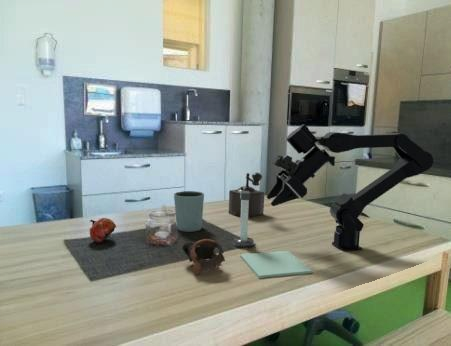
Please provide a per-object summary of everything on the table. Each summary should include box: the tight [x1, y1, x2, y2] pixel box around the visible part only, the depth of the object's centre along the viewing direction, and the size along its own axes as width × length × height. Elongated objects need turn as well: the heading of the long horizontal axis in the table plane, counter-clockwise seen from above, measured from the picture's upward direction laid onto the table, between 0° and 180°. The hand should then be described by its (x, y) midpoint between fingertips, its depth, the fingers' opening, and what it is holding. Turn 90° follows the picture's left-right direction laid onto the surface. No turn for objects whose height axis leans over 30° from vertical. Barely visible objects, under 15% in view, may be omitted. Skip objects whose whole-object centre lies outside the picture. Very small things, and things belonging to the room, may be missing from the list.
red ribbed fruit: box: [89, 217, 117, 244], centre depth 106 cm, size 7×7×10 cm
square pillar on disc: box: [232, 191, 255, 249], centre depth 106 cm, size 6×6×16 cm
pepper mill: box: [228, 172, 265, 219], centre depth 141 cm, size 16×11×18 cm
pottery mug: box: [181, 238, 226, 275], centre depth 89 cm, size 12×10×8 cm
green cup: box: [173, 190, 205, 233], centre depth 121 cm, size 10×10×12 cm
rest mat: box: [239, 250, 313, 279], centre depth 92 cm, size 14×14×1 cm
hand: (269, 201), depth 105 cm, fingers open, 9 cm apart
